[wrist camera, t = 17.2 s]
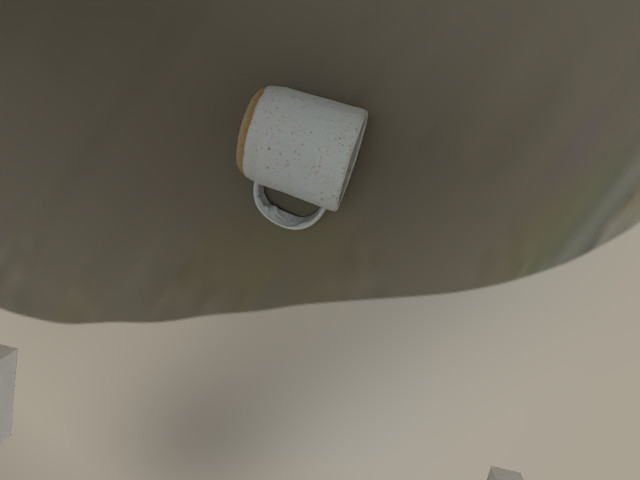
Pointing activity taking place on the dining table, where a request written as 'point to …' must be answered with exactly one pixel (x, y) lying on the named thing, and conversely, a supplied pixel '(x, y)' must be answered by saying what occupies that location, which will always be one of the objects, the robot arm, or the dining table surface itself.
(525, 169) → the dining table surface
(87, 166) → the dining table surface
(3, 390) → the robot arm
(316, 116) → the ceramic mug
